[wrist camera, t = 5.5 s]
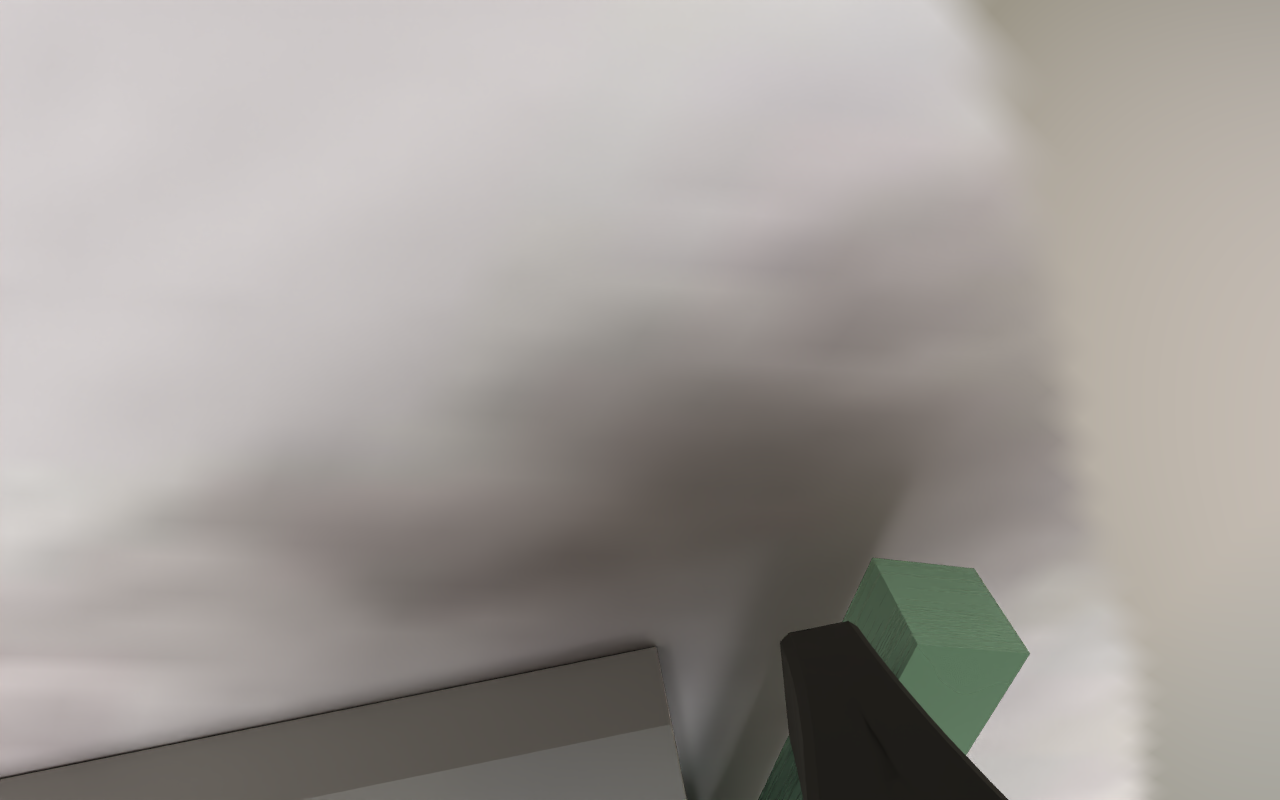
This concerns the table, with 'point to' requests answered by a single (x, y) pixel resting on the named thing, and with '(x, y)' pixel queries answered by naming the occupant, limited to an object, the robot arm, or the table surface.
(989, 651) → the bar
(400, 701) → the collar block
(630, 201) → the table surface
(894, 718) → the robot arm
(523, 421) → the table surface
